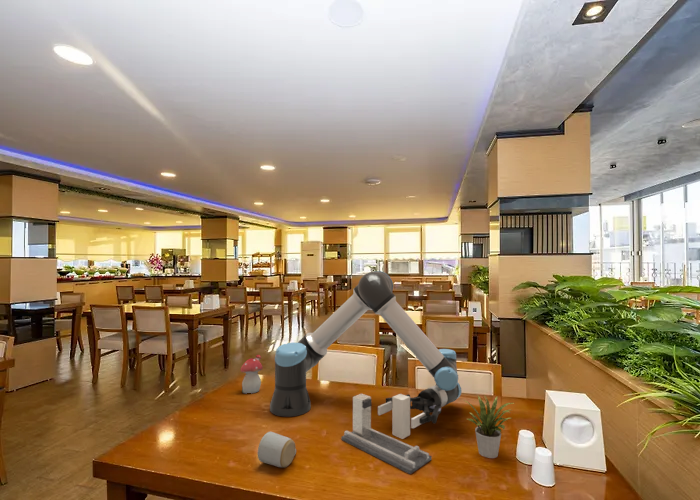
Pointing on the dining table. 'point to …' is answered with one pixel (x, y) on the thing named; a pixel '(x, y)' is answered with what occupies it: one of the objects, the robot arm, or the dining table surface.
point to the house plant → (488, 428)
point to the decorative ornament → (251, 375)
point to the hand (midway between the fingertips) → (394, 417)
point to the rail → (381, 440)
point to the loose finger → (401, 416)
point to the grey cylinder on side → (276, 450)
